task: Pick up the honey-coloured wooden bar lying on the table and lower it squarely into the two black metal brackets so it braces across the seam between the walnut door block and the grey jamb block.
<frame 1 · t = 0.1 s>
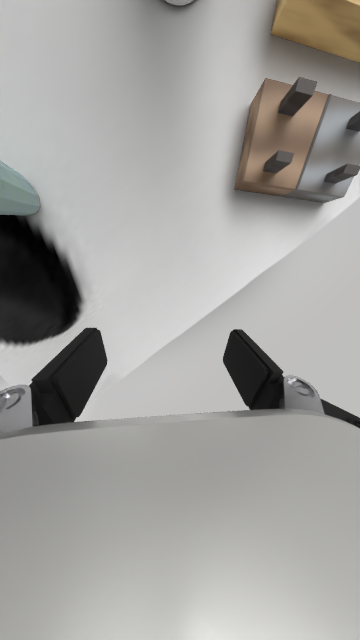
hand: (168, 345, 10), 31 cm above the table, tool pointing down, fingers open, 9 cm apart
disposable coffee cup: (24, 198, 27), on the table
door and jamb: (293, 160, 29), on the table
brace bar: (333, 33, 22), on the table
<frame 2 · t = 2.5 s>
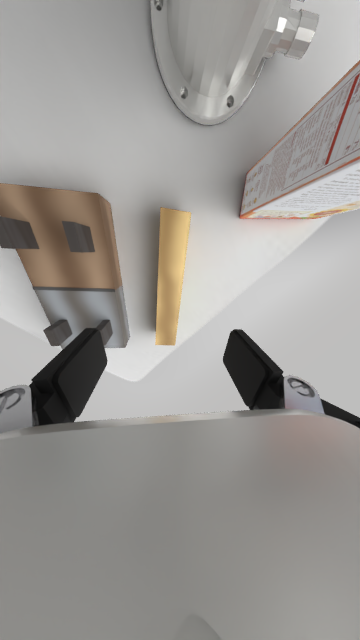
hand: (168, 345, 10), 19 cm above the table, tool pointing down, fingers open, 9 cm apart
door and jamb: (88, 283, 24), on the table
cracker box: (281, 197, 21), on the table
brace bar: (168, 285, 26), on the table
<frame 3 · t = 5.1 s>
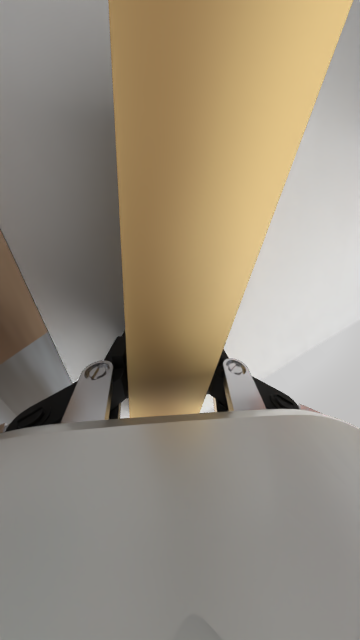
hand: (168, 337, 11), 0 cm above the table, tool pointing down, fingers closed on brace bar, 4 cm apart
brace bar: (168, 333, 11), on the table, touching gripper
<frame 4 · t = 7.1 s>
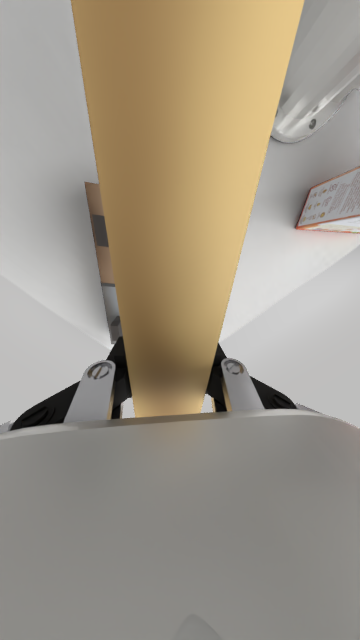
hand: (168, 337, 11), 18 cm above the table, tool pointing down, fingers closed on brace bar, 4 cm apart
door and jamb: (143, 282, 25), on the table
cracker box: (336, 212, 23), on the table
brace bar: (168, 333, 11), point 17 cm above the table, touching gripper
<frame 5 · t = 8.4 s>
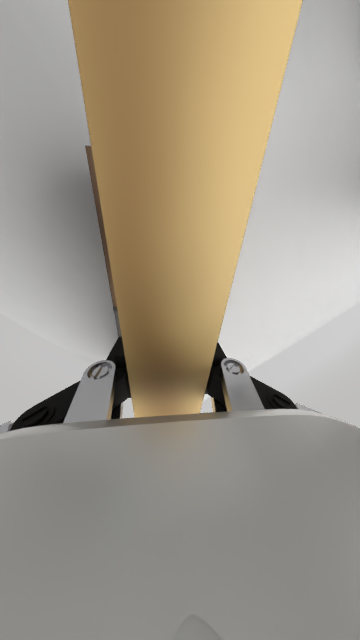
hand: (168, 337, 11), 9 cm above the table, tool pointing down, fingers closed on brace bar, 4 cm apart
door and jamb: (168, 299, 19), on the table
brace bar: (168, 333, 11), point 8 cm above the table, touching gripper
when the fingers open (6 cm above the table, at t = 9.5 s): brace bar stays where it is, resting on door and jamb.
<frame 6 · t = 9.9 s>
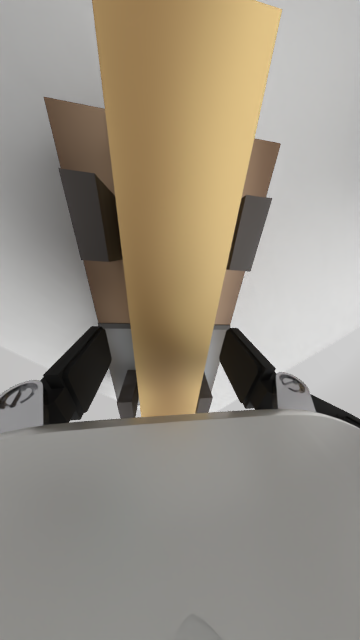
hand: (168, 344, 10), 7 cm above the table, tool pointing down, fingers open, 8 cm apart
door and jamb: (167, 309, 16), on the table
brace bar: (169, 326, 12), point 4 cm above the table, touching door and jamb
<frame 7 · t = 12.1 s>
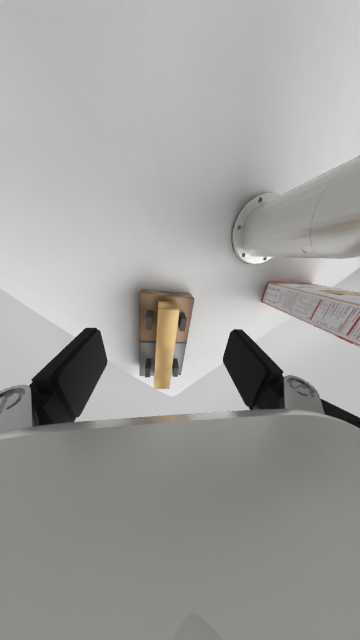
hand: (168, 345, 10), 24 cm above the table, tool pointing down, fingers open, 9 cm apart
door and jamb: (163, 333, 37), on the table
cracker box: (286, 292, 37), on the table
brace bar: (164, 342, 33), point 4 cm above the table, touching door and jamb
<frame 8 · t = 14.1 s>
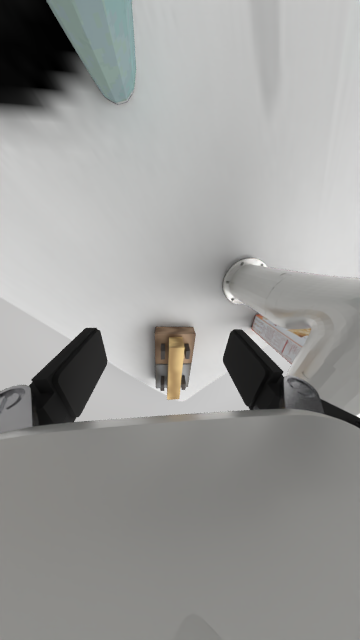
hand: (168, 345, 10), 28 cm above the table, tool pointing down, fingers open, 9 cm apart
disposable coffee cup: (112, 72, 20), on the table
door and jamb: (173, 355, 47), on the table
cracker box: (271, 320, 45), on the table
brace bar: (174, 364, 44), point 4 cm above the table, touching door and jamb
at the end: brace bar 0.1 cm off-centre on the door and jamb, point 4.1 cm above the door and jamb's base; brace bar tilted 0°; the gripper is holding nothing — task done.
